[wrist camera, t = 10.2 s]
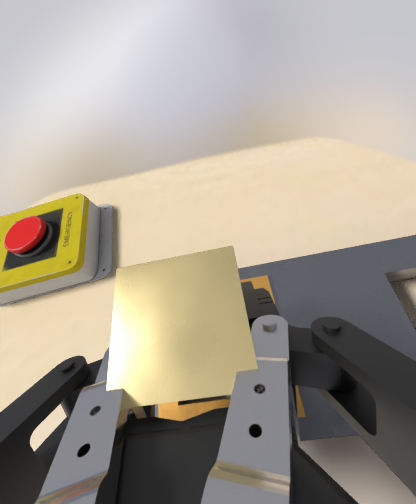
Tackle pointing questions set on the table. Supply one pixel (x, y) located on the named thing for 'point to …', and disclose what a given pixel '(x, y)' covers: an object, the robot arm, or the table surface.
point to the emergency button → (54, 247)
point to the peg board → (329, 315)
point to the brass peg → (179, 329)
